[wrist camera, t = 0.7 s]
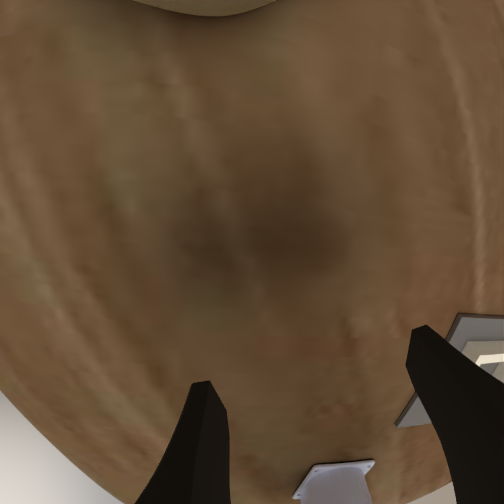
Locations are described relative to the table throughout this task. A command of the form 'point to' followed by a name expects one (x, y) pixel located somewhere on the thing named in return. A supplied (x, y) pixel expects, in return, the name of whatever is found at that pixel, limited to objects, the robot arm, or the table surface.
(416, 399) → the holder
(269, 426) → the table surface
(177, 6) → the plant pot
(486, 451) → the robot arm
